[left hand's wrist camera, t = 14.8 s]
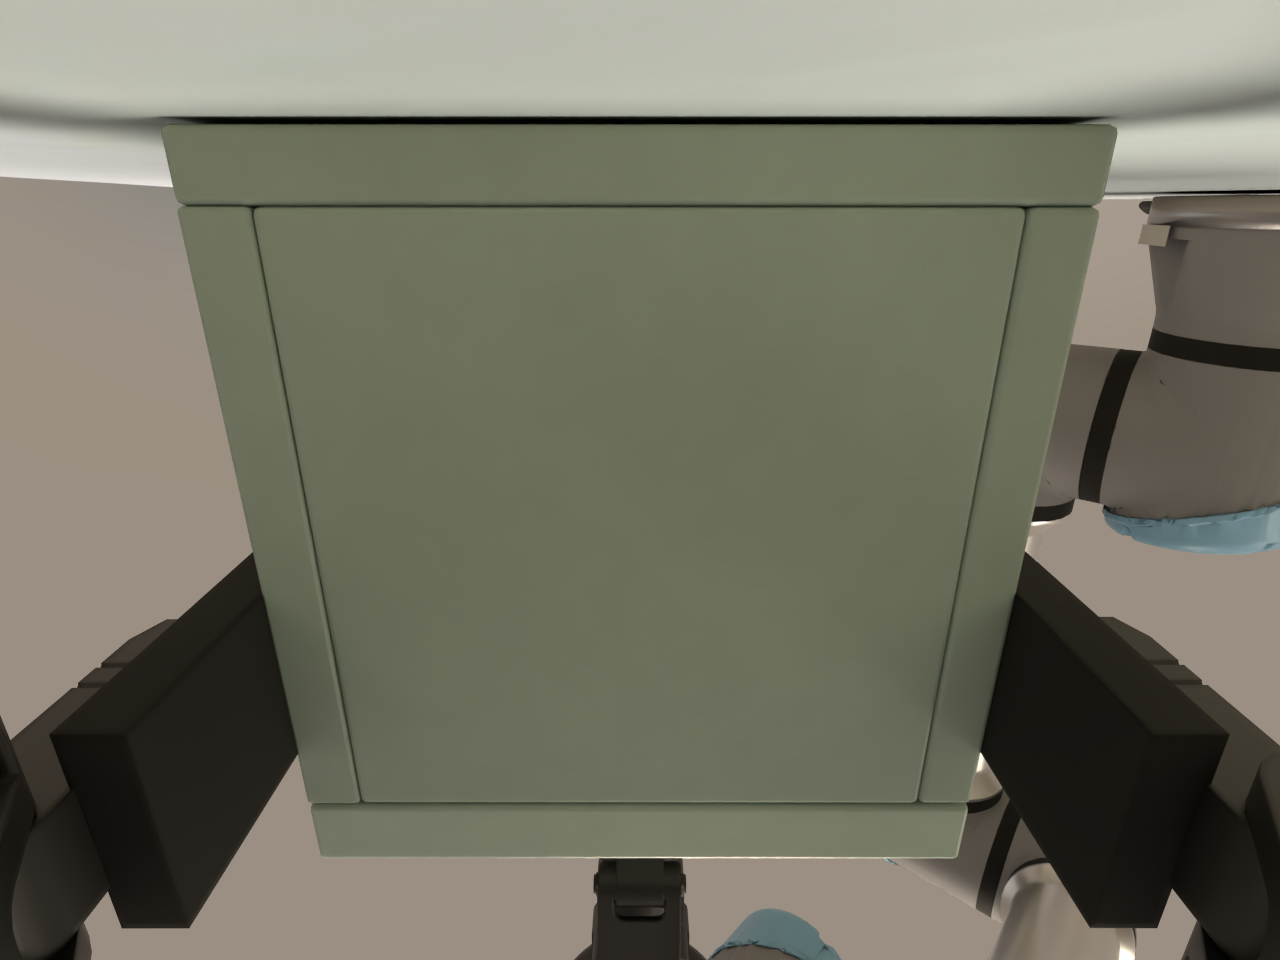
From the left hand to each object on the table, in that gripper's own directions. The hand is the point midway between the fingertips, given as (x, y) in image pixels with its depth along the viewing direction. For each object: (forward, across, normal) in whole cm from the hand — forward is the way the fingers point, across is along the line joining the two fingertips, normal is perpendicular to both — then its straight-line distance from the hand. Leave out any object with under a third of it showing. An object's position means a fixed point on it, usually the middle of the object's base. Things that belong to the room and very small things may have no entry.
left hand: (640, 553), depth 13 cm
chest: (+3, 0, -7) cm, 7 cm away
